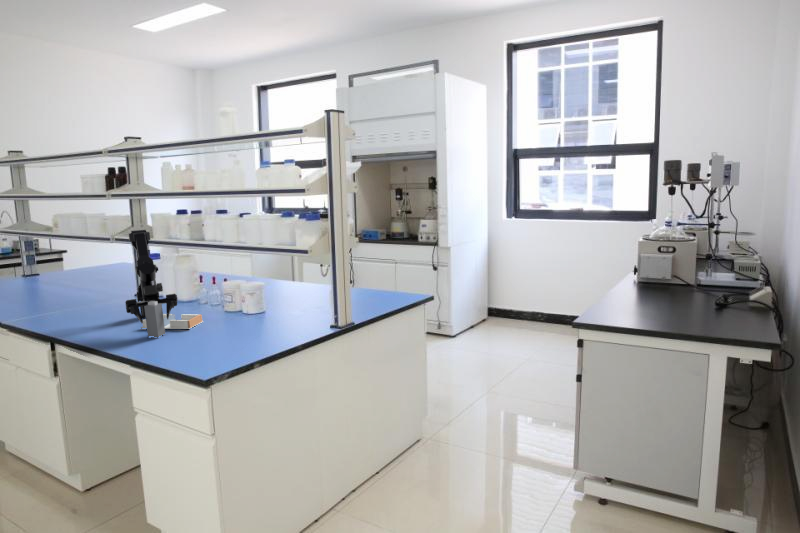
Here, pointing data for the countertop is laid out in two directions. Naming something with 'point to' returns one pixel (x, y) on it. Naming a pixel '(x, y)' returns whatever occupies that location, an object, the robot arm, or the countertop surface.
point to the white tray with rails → (180, 321)
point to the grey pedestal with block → (154, 319)
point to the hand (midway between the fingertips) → (155, 320)
